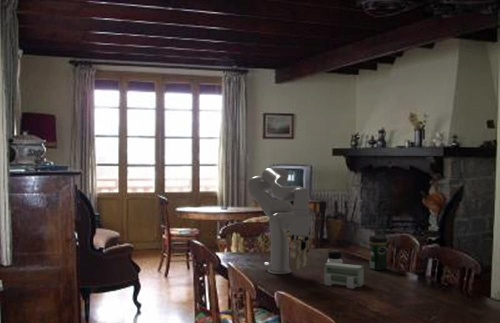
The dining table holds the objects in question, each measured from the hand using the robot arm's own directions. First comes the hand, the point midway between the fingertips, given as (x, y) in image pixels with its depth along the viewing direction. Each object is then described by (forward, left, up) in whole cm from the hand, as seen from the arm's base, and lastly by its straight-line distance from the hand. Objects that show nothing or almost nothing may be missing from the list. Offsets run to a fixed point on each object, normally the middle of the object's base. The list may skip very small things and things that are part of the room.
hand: (300, 248), depth 265 cm
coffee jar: (+27, +46, -16) cm, 55 cm away
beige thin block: (0, 0, -9) cm, 9 cm away
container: (+12, +17, -16) cm, 26 cm away
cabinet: (+21, +1, -16) cm, 26 cm away
